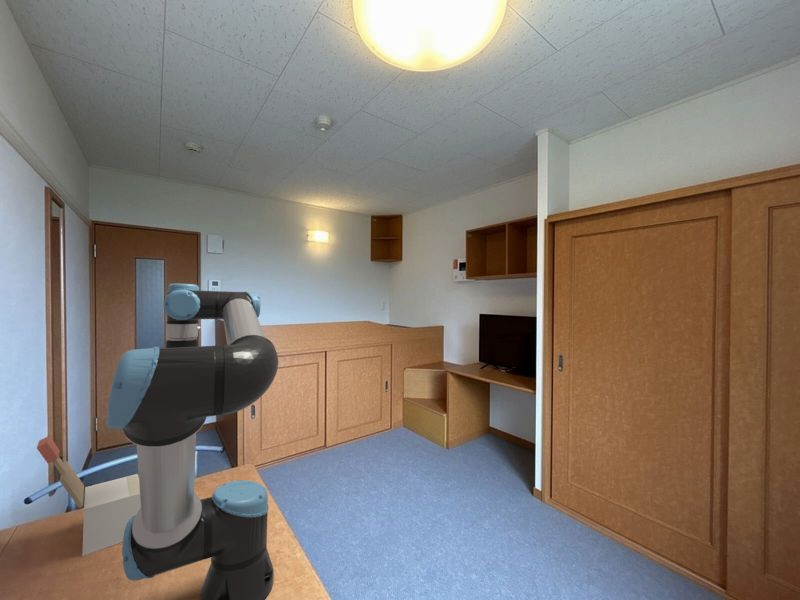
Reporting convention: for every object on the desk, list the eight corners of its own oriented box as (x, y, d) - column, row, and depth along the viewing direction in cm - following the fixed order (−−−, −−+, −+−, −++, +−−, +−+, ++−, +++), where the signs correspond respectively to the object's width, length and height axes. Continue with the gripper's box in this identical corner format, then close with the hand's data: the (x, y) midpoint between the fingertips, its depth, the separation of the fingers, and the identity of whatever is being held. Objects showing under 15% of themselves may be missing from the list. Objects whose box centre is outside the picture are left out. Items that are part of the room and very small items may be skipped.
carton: (145, 534, 96) (146, 491, 96) (82, 556, 87) (84, 508, 87) (140, 511, 106) (141, 472, 106) (83, 528, 97) (85, 486, 98)
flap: (45, 447, 83) (34, 452, 82) (85, 504, 88) (76, 510, 87) (50, 431, 93) (40, 436, 91) (86, 483, 97) (77, 489, 96)
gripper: (208, 342, 87) (206, 424, 87) (188, 334, 106) (186, 402, 106) (174, 344, 82) (171, 431, 82) (159, 335, 101) (157, 407, 100)
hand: (179, 415), depth 94 cm, fingers open, 13 cm apart
